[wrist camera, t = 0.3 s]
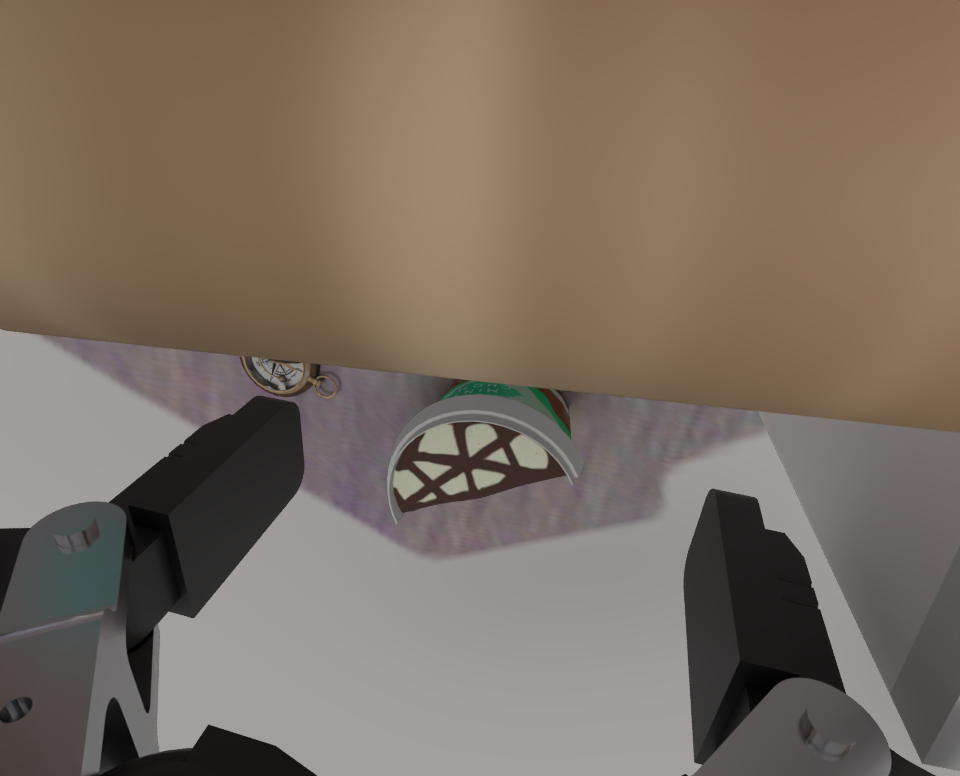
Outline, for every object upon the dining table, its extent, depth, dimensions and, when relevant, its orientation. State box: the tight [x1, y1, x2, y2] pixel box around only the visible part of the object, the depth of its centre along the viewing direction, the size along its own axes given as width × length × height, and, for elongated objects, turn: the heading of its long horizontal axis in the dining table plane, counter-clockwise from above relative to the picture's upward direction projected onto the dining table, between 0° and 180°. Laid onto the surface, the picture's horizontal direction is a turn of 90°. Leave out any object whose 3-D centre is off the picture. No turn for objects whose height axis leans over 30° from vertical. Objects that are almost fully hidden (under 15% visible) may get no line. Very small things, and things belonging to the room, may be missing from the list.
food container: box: [387, 379, 584, 524], centre depth 38 cm, size 12×6×10 cm, turn 113°
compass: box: [240, 356, 337, 398], centre depth 41 cm, size 8×8×7 cm
